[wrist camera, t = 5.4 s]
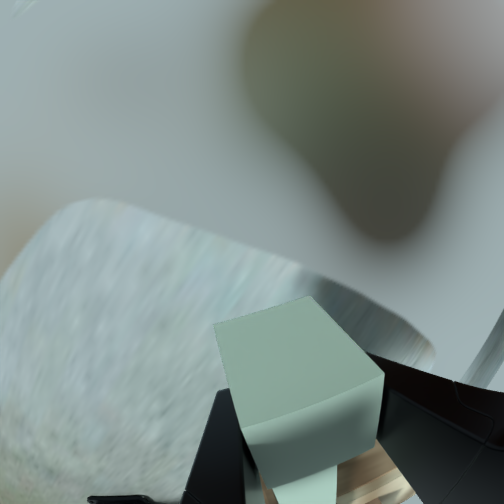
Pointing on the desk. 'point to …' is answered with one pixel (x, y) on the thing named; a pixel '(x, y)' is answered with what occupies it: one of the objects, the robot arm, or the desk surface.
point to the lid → (380, 491)
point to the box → (352, 472)
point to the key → (300, 396)
